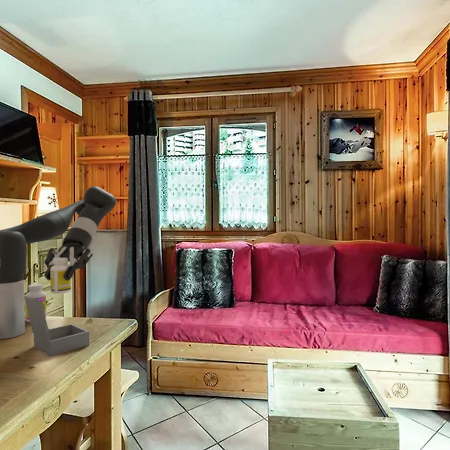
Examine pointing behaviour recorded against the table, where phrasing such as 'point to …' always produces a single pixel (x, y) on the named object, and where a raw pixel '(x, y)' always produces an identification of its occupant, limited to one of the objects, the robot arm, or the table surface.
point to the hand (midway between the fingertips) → (56, 278)
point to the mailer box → (53, 332)
